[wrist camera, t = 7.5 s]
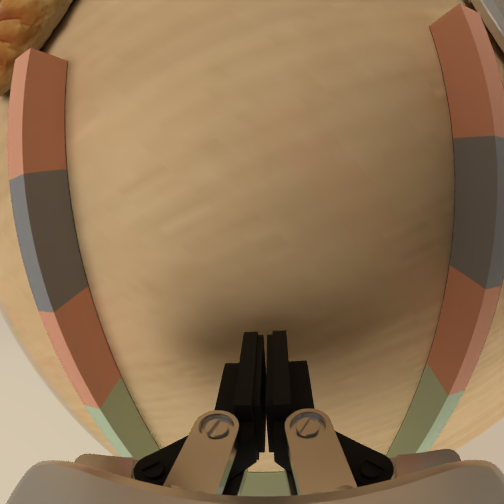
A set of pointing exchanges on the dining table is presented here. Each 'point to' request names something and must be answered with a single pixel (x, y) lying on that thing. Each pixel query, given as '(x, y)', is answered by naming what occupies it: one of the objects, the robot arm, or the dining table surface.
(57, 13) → the pastry
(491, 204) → the striped u-shaped rail
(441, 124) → the dining table surface
